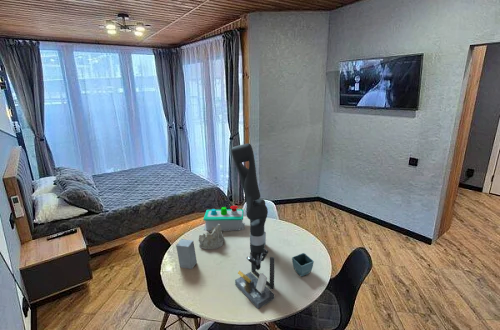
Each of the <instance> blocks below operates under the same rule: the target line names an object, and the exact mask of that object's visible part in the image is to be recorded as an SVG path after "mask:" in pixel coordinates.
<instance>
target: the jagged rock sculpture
mask: <svg viewBox="0 0 500 330" xmlns="http://www.w3.org/2000/svg"><path fill="white" fill-rule="evenodd" d="M224 241H225V236H224V235H223V232H222V231H221V226H220V224H218V227H217V226H216V227H212V231H211V233H210V232H209V230H206V232H205V233H202V234H199V236H198V243H199V244H198V246H199V248H201V249H205V250H216V249H220V248H221V247H222V246H223V244H224Z"/></svg>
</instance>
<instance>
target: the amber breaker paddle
mask: <svg viewBox="0 0 500 330" xmlns="http://www.w3.org/2000/svg"><path fill="white" fill-rule="evenodd" d="M237 274H238V276H240V277H242V278H243V279H245V280H246V281H247V282H249V283H250V282H251V281H252V280H250V279H249V278H248V277H247V276H246V274H245V273H243V272H242V271H241V270H239V271H238V272H237Z"/></svg>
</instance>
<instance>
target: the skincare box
mask: <svg viewBox="0 0 500 330" xmlns="http://www.w3.org/2000/svg"><path fill="white" fill-rule="evenodd" d="M175 247H176V253H177V258H178V266H179V268H183V269H189V270H193V268H194V267H195V265H197V262H198V261H197V254H196V249H195V247H196V246H195V243H194V240H193V239H184V238H181V239H180V240H179V241H178V243H177V244H176V245H175Z"/></svg>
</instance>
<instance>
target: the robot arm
mask: <svg viewBox="0 0 500 330" xmlns="http://www.w3.org/2000/svg"><path fill="white" fill-rule="evenodd" d="M231 156H232V158H233V162H234V164H235V166H236V169H237V173H238V177H239V180H240V181H239V182H240V184H241V187H242V190H243V193H244V199H245V204H246V210H245V212H246V217H247V219H248V220H249V224H250V226H249V229H250V233H249V249H250V252H249V256H247V257H246V260H247V261H249V262H250V263H252V264H253V265H255V269H256V271H259V270H261V263H262V262H264V260H265V259H266V257H267V255H268V253H269V250H267V249H266V248H265V246H266V243H267V242H266V241H267V239H266V238H267V237H266V236H267V235H266V234H267V233H266V231H265V224H266V221H267V218H268V213H269V211H268V207H267V205H266V201H265V199H263V198H261V193H260V188H259V183H258V176H257V168H256V167H257V166H256V161H255V154H254V150H253V146H252V144H251V143H249V142H247V143H243V144H239V145H235V146H233V147H232V148H231ZM247 162H248V168H247V166H245V165H244V163H247ZM252 257H253V259H254V261H252Z"/></svg>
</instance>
